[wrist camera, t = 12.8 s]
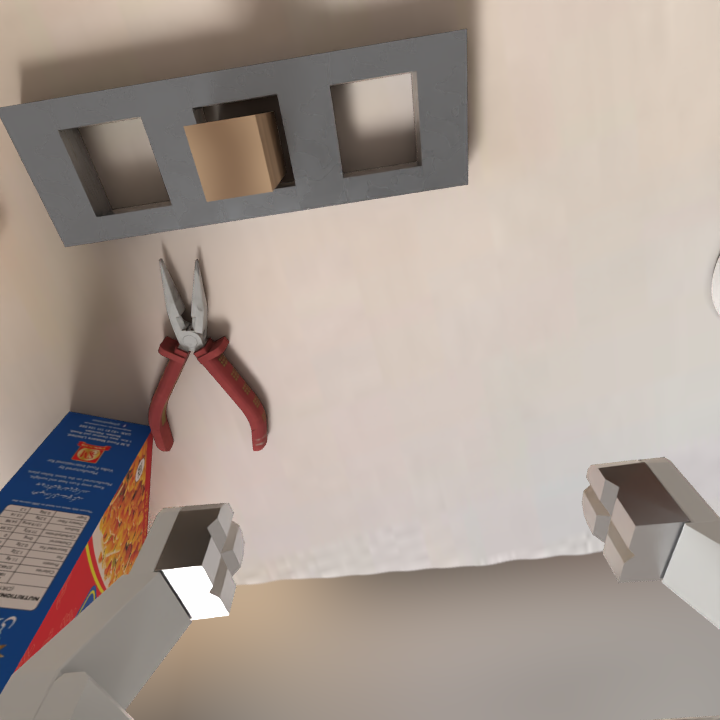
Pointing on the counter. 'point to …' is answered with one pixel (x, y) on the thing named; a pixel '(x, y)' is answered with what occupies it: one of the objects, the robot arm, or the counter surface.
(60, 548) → the pasta box
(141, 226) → the grey peg hole board
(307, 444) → the counter surface
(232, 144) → the square peg
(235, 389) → the pliers
